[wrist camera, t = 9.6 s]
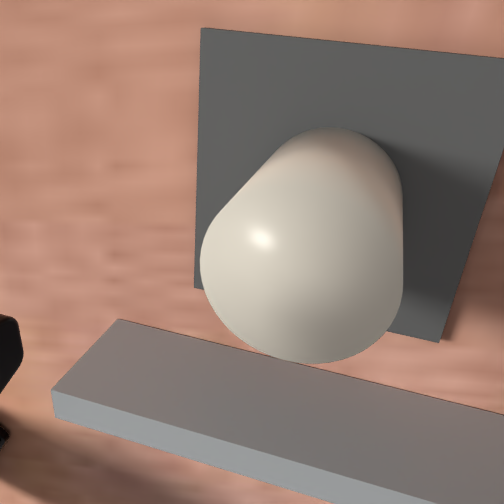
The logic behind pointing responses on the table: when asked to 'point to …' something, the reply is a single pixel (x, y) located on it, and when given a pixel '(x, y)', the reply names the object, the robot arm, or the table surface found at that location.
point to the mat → (368, 124)
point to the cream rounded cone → (310, 249)
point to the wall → (283, 421)
